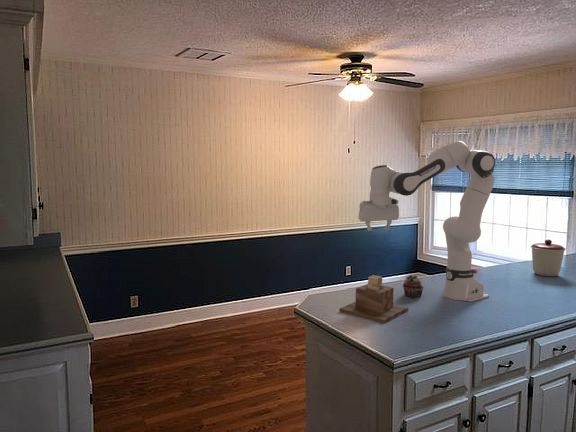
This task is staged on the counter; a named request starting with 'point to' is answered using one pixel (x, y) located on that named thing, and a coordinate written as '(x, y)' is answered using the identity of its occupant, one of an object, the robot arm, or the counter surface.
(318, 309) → the counter surface
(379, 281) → the rail end
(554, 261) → the canister
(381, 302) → the post block
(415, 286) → the cupcake
